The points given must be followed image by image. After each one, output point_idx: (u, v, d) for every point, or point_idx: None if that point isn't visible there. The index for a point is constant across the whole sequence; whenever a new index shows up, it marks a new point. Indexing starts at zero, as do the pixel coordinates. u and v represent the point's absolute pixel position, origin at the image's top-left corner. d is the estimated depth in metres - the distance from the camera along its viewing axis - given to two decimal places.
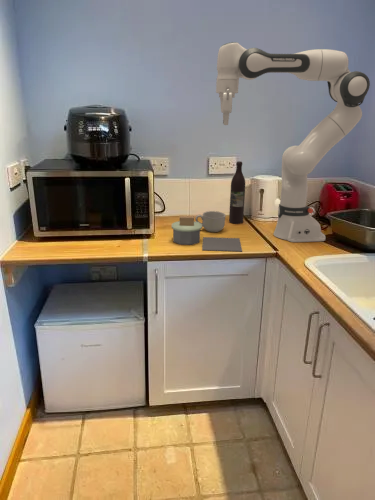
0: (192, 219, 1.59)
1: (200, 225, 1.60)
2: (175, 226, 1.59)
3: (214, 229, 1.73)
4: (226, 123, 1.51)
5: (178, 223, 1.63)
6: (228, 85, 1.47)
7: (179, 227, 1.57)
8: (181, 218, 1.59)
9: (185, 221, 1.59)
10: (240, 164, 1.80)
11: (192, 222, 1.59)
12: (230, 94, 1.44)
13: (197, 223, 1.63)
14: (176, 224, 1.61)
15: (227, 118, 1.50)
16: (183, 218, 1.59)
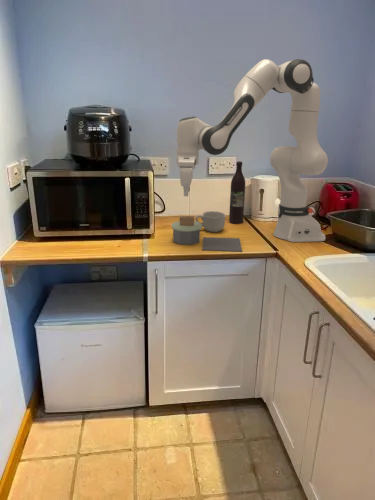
0: (192, 219, 1.59)
1: (200, 225, 1.60)
2: (175, 226, 1.59)
3: (214, 229, 1.73)
4: None
5: (178, 223, 1.63)
6: None
7: (179, 227, 1.57)
8: (181, 218, 1.59)
9: (185, 221, 1.59)
10: (240, 164, 1.80)
11: (192, 222, 1.59)
12: None
13: (197, 223, 1.63)
14: (176, 224, 1.61)
15: None
16: (183, 218, 1.59)
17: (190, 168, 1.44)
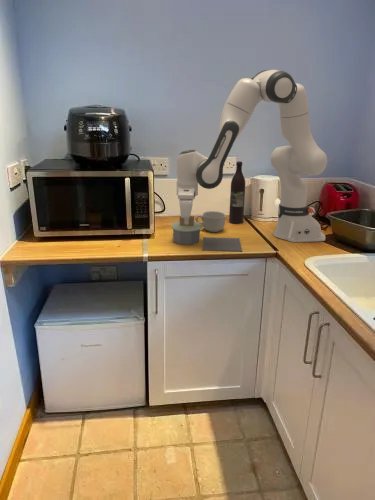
0: (192, 219, 1.59)
1: (200, 225, 1.60)
2: (175, 226, 1.59)
3: (214, 229, 1.73)
4: None
5: (178, 223, 1.63)
6: None
7: (179, 227, 1.57)
8: (181, 218, 1.59)
9: None
10: (240, 164, 1.80)
11: (192, 222, 1.59)
12: None
13: (197, 223, 1.63)
14: (176, 224, 1.61)
15: None
16: (183, 218, 1.59)
17: (190, 200, 1.49)
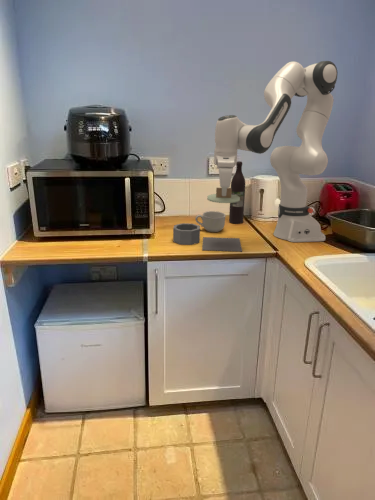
0: (230, 190, 1.50)
1: (238, 197, 1.51)
2: (212, 197, 1.50)
3: (214, 229, 1.73)
4: None
5: (214, 195, 1.54)
6: None
7: (216, 199, 1.48)
8: (218, 189, 1.50)
9: None
10: (240, 164, 1.80)
11: (230, 194, 1.50)
12: None
13: (234, 195, 1.54)
14: (212, 196, 1.52)
15: None
16: (220, 189, 1.50)
17: (230, 168, 1.39)
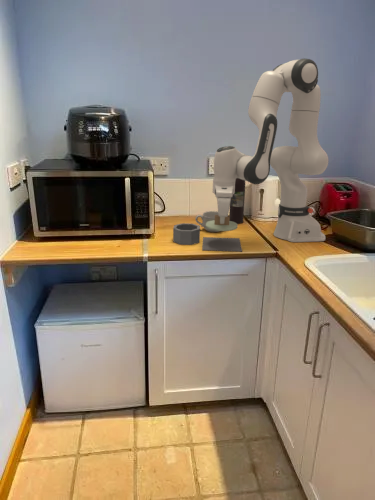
0: (228, 218, 1.53)
1: (236, 224, 1.55)
2: (210, 225, 1.54)
3: None
4: None
5: (212, 222, 1.57)
6: None
7: (215, 226, 1.52)
8: (216, 217, 1.54)
9: None
10: None
11: (228, 221, 1.54)
12: None
13: (232, 222, 1.58)
14: (211, 223, 1.56)
15: None
16: (218, 217, 1.54)
17: (228, 198, 1.43)
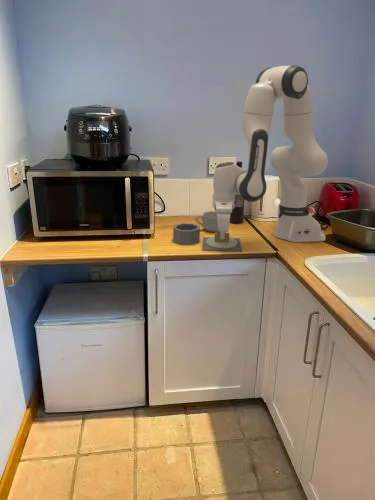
0: (228, 236, 1.56)
1: (235, 242, 1.58)
2: (211, 243, 1.56)
3: (214, 229, 1.73)
4: None
5: (212, 239, 1.60)
6: None
7: (215, 244, 1.55)
8: (216, 235, 1.56)
9: None
10: (240, 164, 1.80)
11: (227, 239, 1.57)
12: None
13: (232, 239, 1.61)
14: (211, 241, 1.59)
15: None
16: (218, 235, 1.56)
17: (228, 214, 1.45)
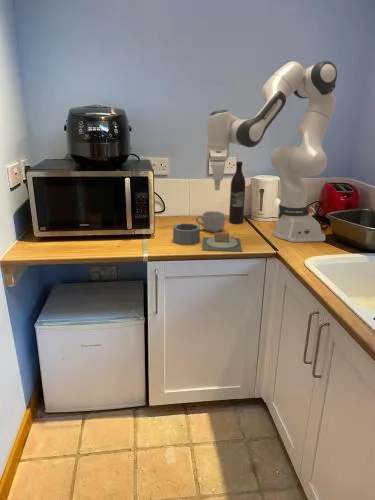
0: (228, 236, 1.56)
1: (235, 242, 1.58)
2: (211, 243, 1.56)
3: (214, 229, 1.73)
4: None
5: (212, 239, 1.60)
6: None
7: (215, 244, 1.55)
8: (216, 235, 1.56)
9: (220, 238, 1.57)
10: (240, 164, 1.80)
11: (227, 239, 1.57)
12: None
13: (232, 239, 1.61)
14: (211, 241, 1.59)
15: None
16: (218, 235, 1.56)
17: (223, 162, 1.44)
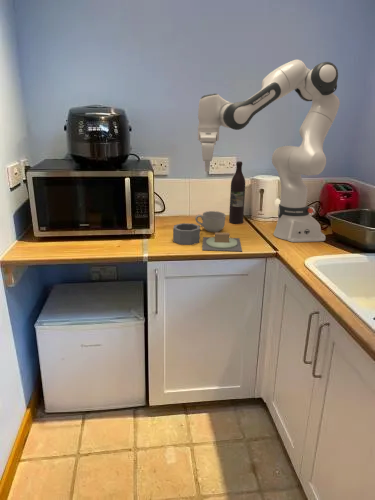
0: (228, 236, 1.56)
1: (235, 242, 1.58)
2: (211, 243, 1.56)
3: (214, 229, 1.73)
4: None
5: (212, 239, 1.60)
6: None
7: (215, 244, 1.55)
8: (216, 235, 1.56)
9: (220, 238, 1.57)
10: (240, 164, 1.80)
11: (227, 239, 1.57)
12: None
13: (232, 239, 1.61)
14: (211, 241, 1.59)
15: None
16: (218, 235, 1.56)
17: (212, 143, 1.49)
